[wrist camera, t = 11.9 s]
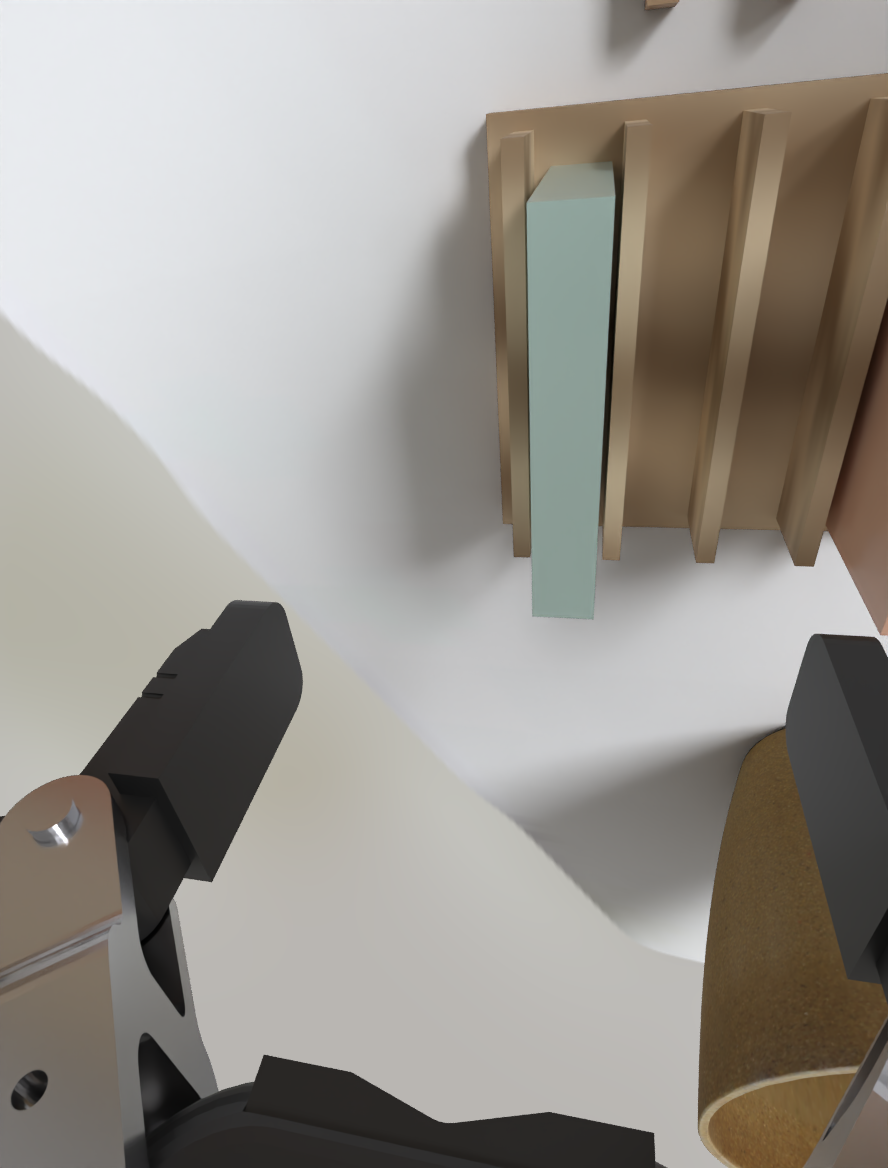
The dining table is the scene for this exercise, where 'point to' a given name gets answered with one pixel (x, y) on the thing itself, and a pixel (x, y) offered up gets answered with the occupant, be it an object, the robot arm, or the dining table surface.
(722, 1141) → the plant pot
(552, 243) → the green plate
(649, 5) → the stand rails
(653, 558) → the dining table surface
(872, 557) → the pink rectangular slab
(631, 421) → the rack
